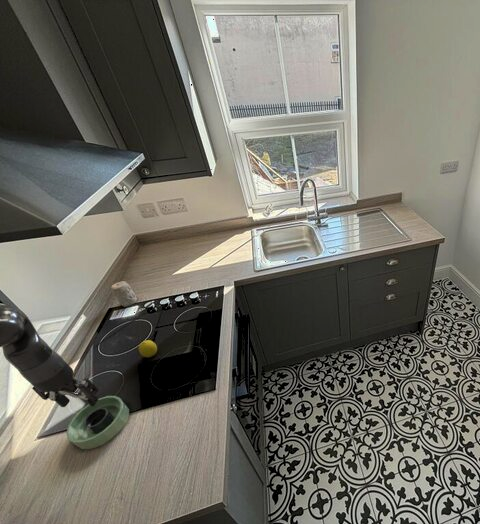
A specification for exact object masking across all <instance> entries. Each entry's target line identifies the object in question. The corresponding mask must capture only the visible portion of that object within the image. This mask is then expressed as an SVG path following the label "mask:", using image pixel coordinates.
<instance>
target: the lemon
mask: <svg viewBox="0 0 480 524" xmlns="http://www.w3.org/2000/svg"><path fill="white" fill-rule="evenodd" d="M138 351H139V354H140V355H141V356H142V357H144V358H151V357H153V356H155V355H156V354H157V352H158V346H157V344H156V343H155V342H154V341H153V340H150V339H148V340H144V341H142V342H140V344H139V345H138Z"/></svg>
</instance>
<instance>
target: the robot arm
mask: <svg viewBox="0 0 480 524" xmlns="http://www.w3.org/2000/svg"><path fill="white" fill-rule="evenodd" d="M0 348H1V349H2V354H3V357H4V359H5V360H6V361H7V362H8V363H9V364H11V365H12V366H13V367H14V368H15V369H16V370H17V371H18V372H19V374H20V375H21V376H22V377H23V378H24V379H25V380H26V381H27V382H28V383H29V384H30V385H31V386H32V387H31V389H32V390H33V391H34V392H35V393H36V394H37V395H38V396H39V397H40V398H41V399H42V400H44V401H47V400H48V399H49V400H50V401H51V402H55V403H56V404H57V405H58V406H60V408H66V407H67V406H68V405H69V403H70V402H71V400H70V398H68V396H69V397H72V398H74V399H77V398H79V399H81V400H84V402H86V404H87V405H88V404H89V405H90V406H95V404H96V403H97V402H98V399H99V397H97V396H96V394H97V393H98V392H99V388H98V387H97V386H96V385H95V384H94V383H93V382H92V381H91V380H90V379H89V378H86V377H84V378H83V379H82V380H78V379H76V378H74V369H73V368H72V367H71V366H70V364H68V363H67V361H65V359H64V358H63V357H62V356H61V355H60V354H59V353H58V352H56V351H55V350H54V349H53V348H51V347H50V346H49V344H48V343H47V342H46V341H45V340H44V339H43V338H42V337H41V336H40V334H39V333H38V332H37V330H36V328H35V326H34V324H33V323H32V321H31V320H30V319H29V317H28V316H27V315H26V313H25V312H24V311H23V310H21V309H20V308H17V307H16V306H12V305H6V304H5V305H4V304H2V305H1V304H0ZM77 390H78V391H77ZM76 391H77V392H76ZM82 393H83V394H82Z"/></svg>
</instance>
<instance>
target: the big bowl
mask: <svg viewBox="0 0 480 524" xmlns="http://www.w3.org/2000/svg"><path fill="white" fill-rule="evenodd" d="M99 408H106V409H107V410H108V411H109V412H110V413H111V414H112V415H113V416H114V421H113V422H112V423H111V425H109V426H108V427H107V428H106V429H105V430H103V431H102V432H101V433H99V434H92V433H91V432H90V431H89V430H88V429H86V428H85V426H84V425H83V424H84V420H85V419H86V417H87V416H88V415H89V414H90V413H91V412H93V411H94V410H96V409H99ZM129 417H130V408H129V407H128V405H127V404H126V403H125V402H124V400H123V399H122V398H120V397H118V396H116V395H106V396H104V397H99V398H98V402H97V403H96V404H95V406H90V405H89V404H88V403H87V405H85V406H84V407H83V408H81V409H80V410H79V411H78V412H77V414H75V415H74V416H73V418H72V420H71V421H70V423H69V424H68V426H67V430H66V437H67V439H68V441H69V442H71V443H72V444H73V445H74V446H76V447H77V448H79V449H81V450H92V449H96V448H98V447H100V446H103V445H104V444H106V443H108V442H109V441H111V440H112V439H113V438H115V436H117V435H118V434H119V433H120V432H121V431H122V429H123V428H124V427H125V426H126V424H127V422H128V420H129Z"/></svg>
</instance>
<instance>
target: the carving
mask: <svg viewBox="0 0 480 524" xmlns="http://www.w3.org/2000/svg"><path fill="white" fill-rule="evenodd" d="M110 289H111V291H112V293H113V294H114V296H115V298H116V300H117V302H118V303H119V304H120V305H121V306H122V307H124V308H126V307H130V306H132V305H134V304H135V303H136V302H137V296H136V294H135V293H134V291H133V289H132V287H131V286H130V284H129V283H128V282H127V281H125V280H123V281H122V280H121V281H118V282H116V283H114V284H112V285H111V287H110Z"/></svg>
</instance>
